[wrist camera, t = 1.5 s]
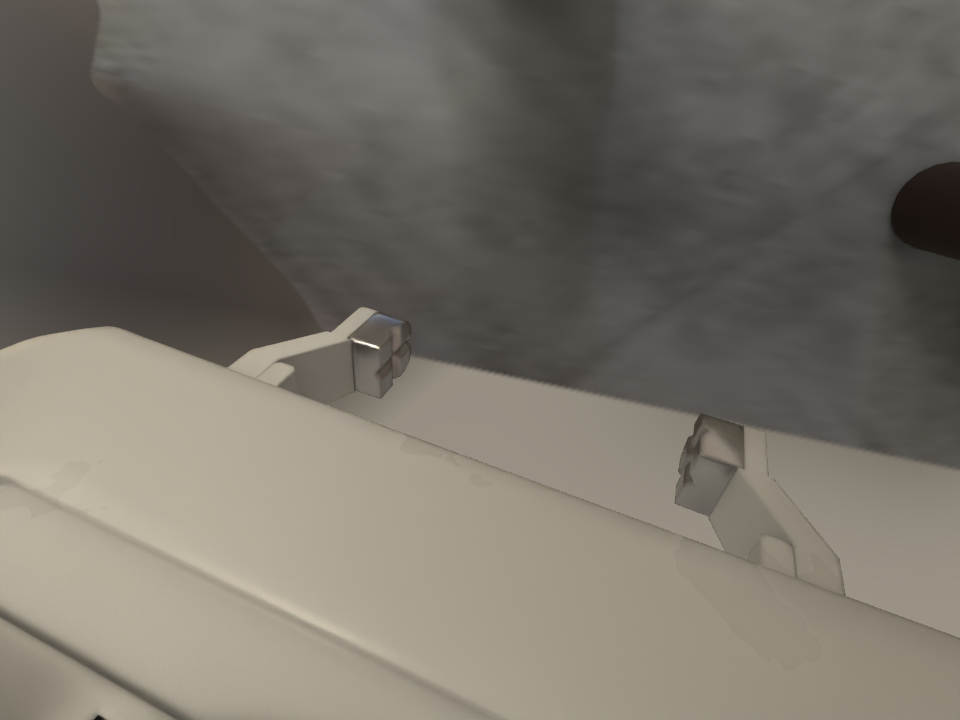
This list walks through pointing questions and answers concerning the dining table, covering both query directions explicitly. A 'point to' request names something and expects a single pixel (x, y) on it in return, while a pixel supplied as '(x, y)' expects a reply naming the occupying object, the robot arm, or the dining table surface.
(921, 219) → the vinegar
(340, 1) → the dining table surface
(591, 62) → the dining table surface
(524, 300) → the dining table surface
